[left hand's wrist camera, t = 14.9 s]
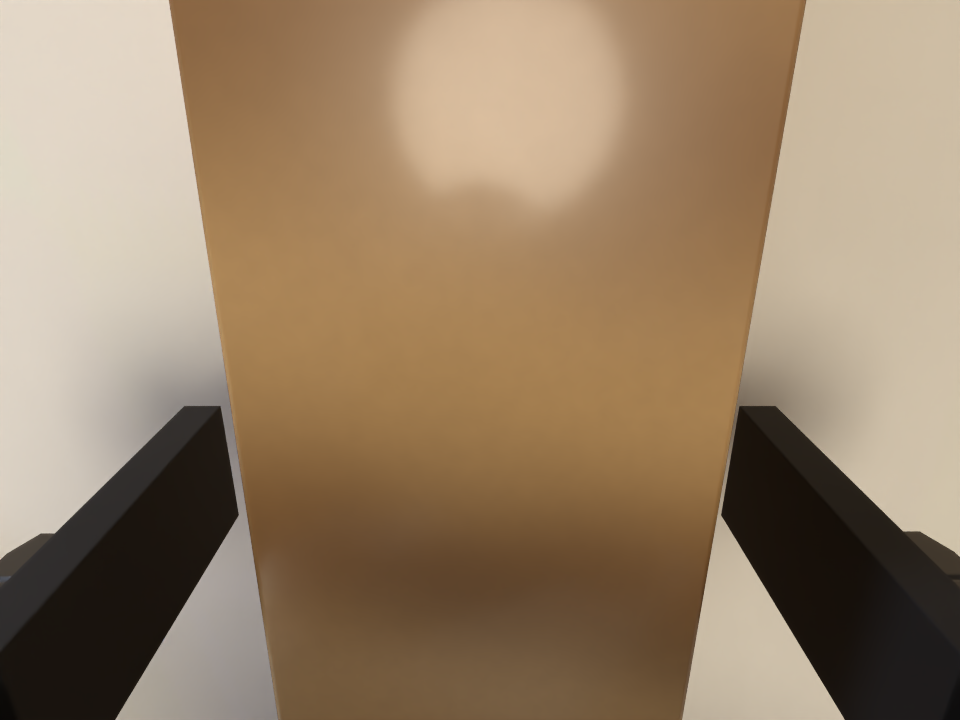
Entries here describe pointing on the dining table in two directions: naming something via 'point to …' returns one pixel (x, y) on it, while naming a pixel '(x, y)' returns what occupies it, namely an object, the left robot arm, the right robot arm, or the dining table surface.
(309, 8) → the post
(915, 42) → the dining table surface
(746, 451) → the left robot arm
